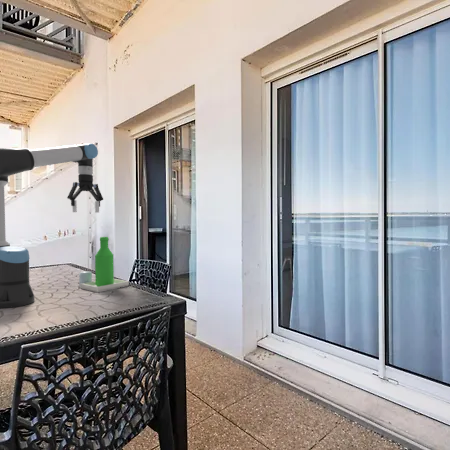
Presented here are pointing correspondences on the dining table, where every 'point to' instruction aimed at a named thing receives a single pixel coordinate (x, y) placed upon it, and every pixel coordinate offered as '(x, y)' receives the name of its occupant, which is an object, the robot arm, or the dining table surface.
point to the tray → (92, 286)
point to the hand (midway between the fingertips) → (86, 212)
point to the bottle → (104, 264)
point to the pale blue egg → (85, 277)
